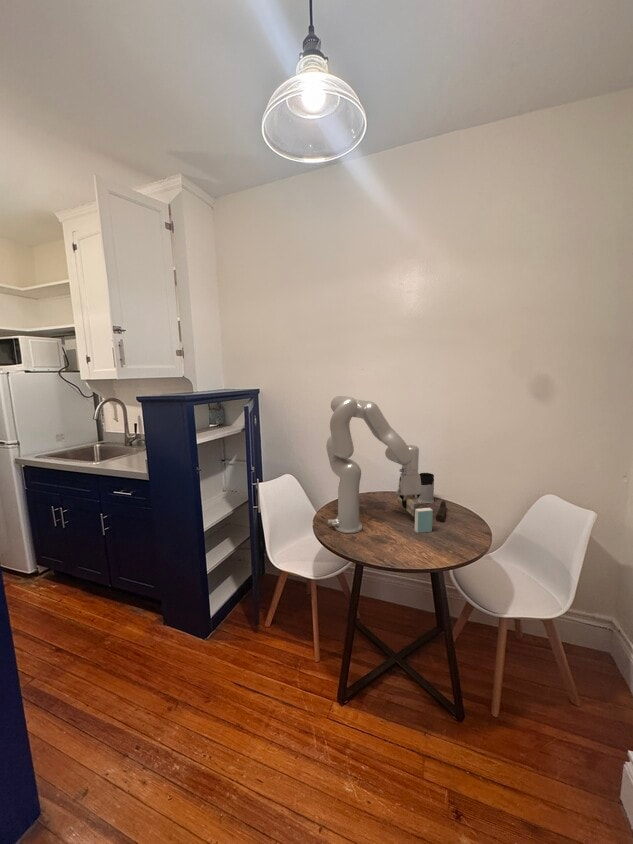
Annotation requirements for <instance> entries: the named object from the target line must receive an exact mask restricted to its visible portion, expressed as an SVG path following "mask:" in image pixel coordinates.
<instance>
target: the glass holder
mask: <svg viewBox="0 0 633 844" xmlns="http://www.w3.org/2000/svg"><path fill="white" fill-rule="evenodd" d="M419 474H420V478H421V490H422V491H423V494H421V495H420V496H419V497H418V498H417V500H418V501H420V502H422V504H425V503H431V504H433V503H432V502H434V503H435V500H434V489H435V488H434V487H435V475H434V474H433V473H429V472H421V473H419Z"/></svg>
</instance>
